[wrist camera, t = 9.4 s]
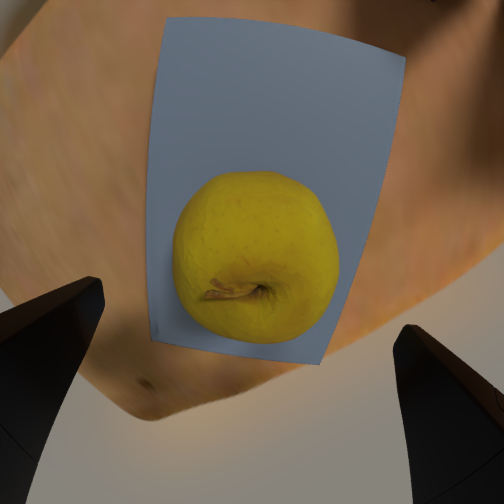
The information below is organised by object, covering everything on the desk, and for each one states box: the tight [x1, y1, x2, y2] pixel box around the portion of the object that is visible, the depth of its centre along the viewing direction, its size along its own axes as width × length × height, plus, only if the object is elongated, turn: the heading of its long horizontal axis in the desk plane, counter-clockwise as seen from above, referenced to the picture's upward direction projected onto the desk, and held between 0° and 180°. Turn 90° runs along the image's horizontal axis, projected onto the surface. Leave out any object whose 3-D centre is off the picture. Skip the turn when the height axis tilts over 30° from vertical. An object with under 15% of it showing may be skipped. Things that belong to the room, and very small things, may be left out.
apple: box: [172, 171, 339, 344], centre depth 12 cm, size 6×6×8 cm
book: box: [146, 17, 406, 365], centre depth 17 cm, size 12×20×3 cm, turn 172°
